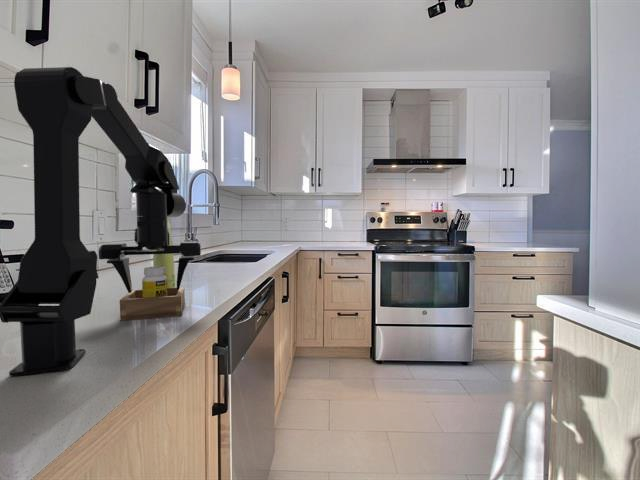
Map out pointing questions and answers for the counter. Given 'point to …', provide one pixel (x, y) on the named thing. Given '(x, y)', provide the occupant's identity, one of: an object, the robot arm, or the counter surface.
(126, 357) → the counter surface
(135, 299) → the walnut box
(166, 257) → the tube
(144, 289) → the supplement bottle
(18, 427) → the counter surface
